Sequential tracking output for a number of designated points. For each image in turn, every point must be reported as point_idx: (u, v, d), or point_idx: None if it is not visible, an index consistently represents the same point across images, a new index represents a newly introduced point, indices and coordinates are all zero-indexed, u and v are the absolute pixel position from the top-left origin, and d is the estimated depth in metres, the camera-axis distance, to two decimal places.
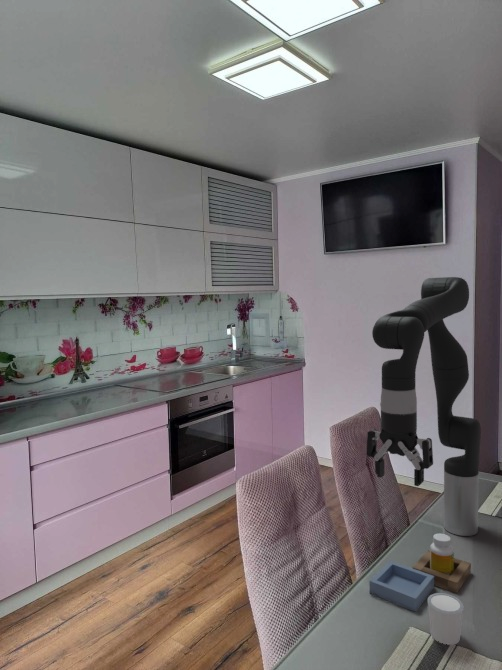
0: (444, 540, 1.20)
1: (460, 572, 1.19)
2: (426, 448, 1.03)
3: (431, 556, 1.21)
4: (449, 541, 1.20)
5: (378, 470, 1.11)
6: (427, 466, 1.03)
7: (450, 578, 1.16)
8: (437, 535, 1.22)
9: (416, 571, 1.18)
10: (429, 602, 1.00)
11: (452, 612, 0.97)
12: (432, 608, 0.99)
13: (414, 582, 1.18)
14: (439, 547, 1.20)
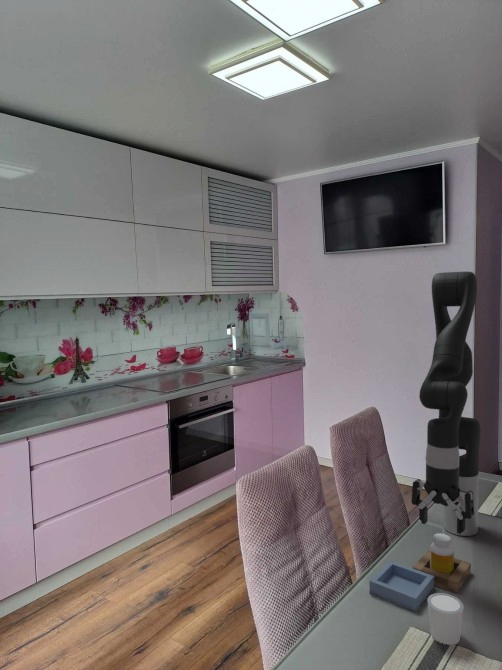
0: (444, 540, 1.20)
1: (460, 572, 1.19)
2: (468, 500, 1.15)
3: (431, 556, 1.21)
4: (449, 541, 1.20)
5: (422, 517, 1.23)
6: (469, 517, 1.15)
7: (450, 578, 1.16)
8: (437, 535, 1.22)
9: (416, 571, 1.18)
10: (429, 602, 1.00)
11: (452, 612, 0.97)
12: (432, 608, 0.99)
13: (414, 582, 1.18)
14: (439, 547, 1.20)
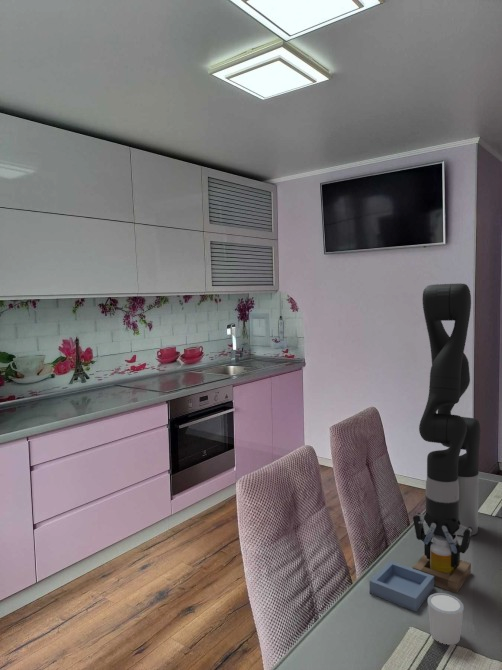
0: (444, 540, 1.20)
1: (460, 572, 1.19)
2: (467, 537, 1.16)
3: (431, 556, 1.21)
4: None
5: (427, 553, 1.23)
6: (463, 551, 1.17)
7: (450, 578, 1.16)
8: None
9: (416, 571, 1.18)
10: (429, 602, 1.00)
11: (452, 612, 0.97)
12: (432, 608, 0.99)
13: (414, 582, 1.18)
14: (439, 547, 1.20)
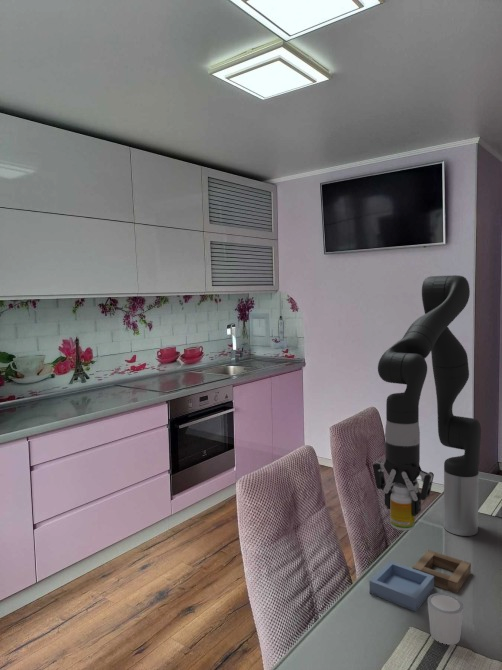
0: (404, 487, 1.12)
1: (460, 572, 1.19)
2: (427, 482, 1.09)
3: (391, 505, 1.14)
4: None
5: (387, 502, 1.15)
6: (424, 498, 1.10)
7: (450, 578, 1.16)
8: (398, 483, 1.15)
9: (416, 571, 1.18)
10: (429, 602, 1.00)
11: (452, 612, 0.97)
12: (432, 608, 0.99)
13: (414, 582, 1.18)
14: (399, 495, 1.13)
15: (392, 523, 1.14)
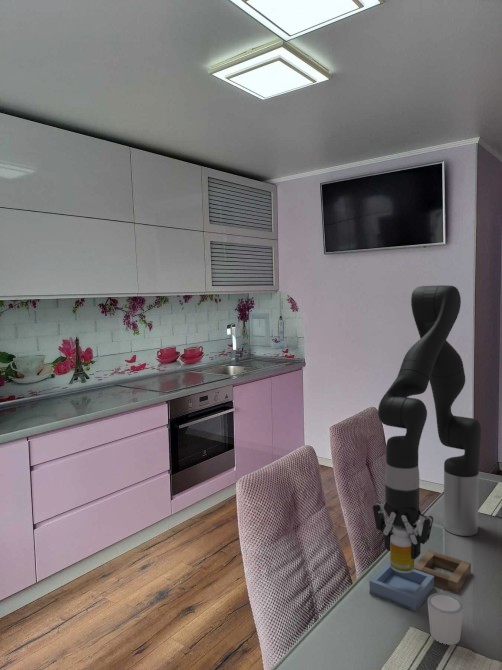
0: (404, 530, 1.13)
1: (460, 572, 1.19)
2: (427, 527, 1.10)
3: (391, 547, 1.15)
4: None
5: (387, 544, 1.16)
6: (423, 542, 1.10)
7: (450, 578, 1.16)
8: None
9: (416, 571, 1.18)
10: (429, 602, 1.00)
11: (452, 612, 0.97)
12: (432, 608, 0.99)
13: (414, 582, 1.18)
14: (398, 537, 1.14)
15: (392, 565, 1.15)
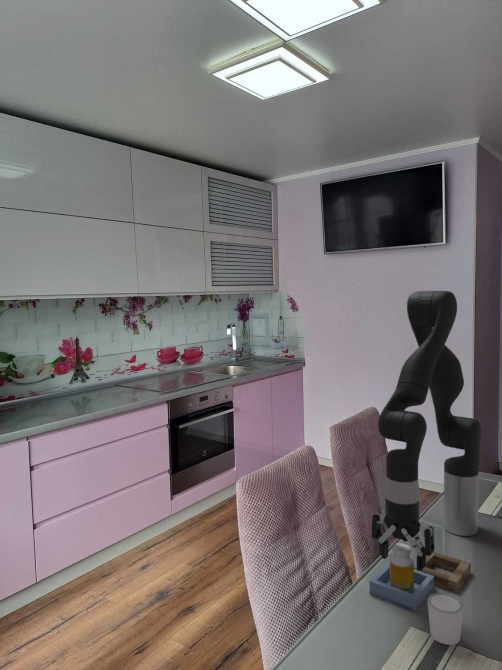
0: (403, 550, 1.14)
1: (460, 572, 1.19)
2: (428, 537, 1.10)
3: (390, 567, 1.16)
4: (409, 551, 1.14)
5: (382, 552, 1.17)
6: (429, 554, 1.10)
7: (450, 578, 1.16)
8: (397, 545, 1.16)
9: (416, 571, 1.18)
10: (429, 602, 1.00)
11: (452, 612, 0.97)
12: (432, 608, 0.99)
13: (414, 582, 1.18)
14: (398, 557, 1.14)
15: (392, 585, 1.15)
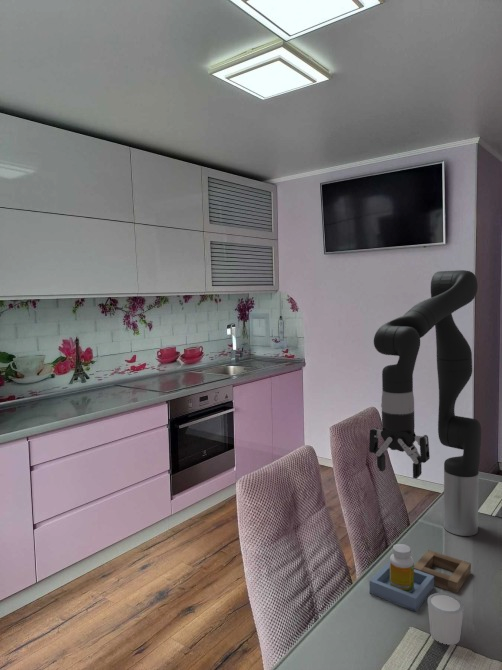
0: (404, 551, 1.14)
1: (460, 572, 1.19)
2: (423, 444, 1.15)
3: (390, 568, 1.15)
4: (409, 552, 1.14)
5: (380, 465, 1.22)
6: (424, 460, 1.15)
7: (450, 578, 1.16)
8: (397, 546, 1.16)
9: (416, 571, 1.18)
10: (429, 602, 1.00)
11: (452, 612, 0.97)
12: (432, 608, 0.99)
13: (414, 582, 1.18)
14: (398, 558, 1.14)
15: None
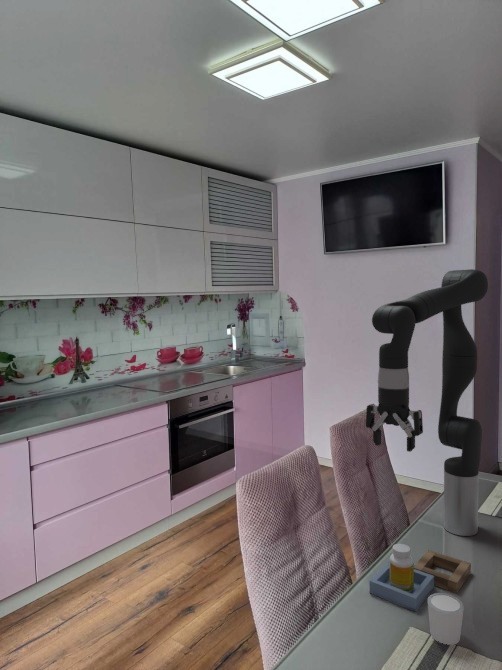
0: (403, 551, 1.14)
1: (460, 572, 1.19)
2: (417, 418, 1.20)
3: (390, 568, 1.15)
4: (409, 552, 1.14)
5: (376, 439, 1.28)
6: (417, 433, 1.21)
7: (450, 578, 1.16)
8: (396, 546, 1.16)
9: (416, 571, 1.18)
10: (429, 602, 1.00)
11: (452, 612, 0.97)
12: (432, 608, 0.99)
13: (414, 582, 1.18)
14: (398, 558, 1.14)
15: None
